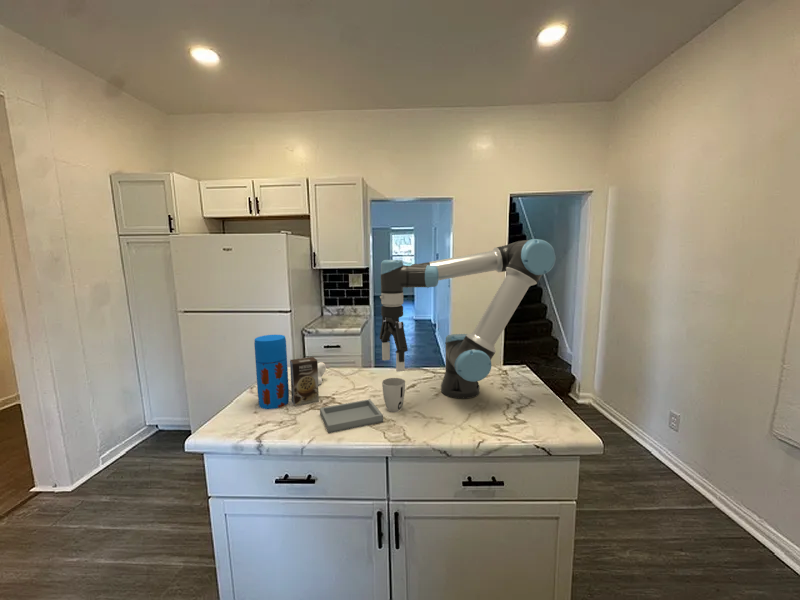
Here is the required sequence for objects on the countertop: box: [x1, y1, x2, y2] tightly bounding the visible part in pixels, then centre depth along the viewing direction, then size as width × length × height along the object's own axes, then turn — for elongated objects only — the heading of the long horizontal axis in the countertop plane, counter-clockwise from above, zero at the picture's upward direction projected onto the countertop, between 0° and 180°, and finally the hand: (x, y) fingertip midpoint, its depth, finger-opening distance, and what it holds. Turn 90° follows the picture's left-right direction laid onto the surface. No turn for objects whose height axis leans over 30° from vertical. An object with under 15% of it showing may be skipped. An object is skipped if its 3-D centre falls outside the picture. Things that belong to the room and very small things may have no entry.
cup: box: [381, 377, 406, 413], centre depth 125 cm, size 8×8×10 cm
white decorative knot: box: [317, 361, 327, 386], centre depth 152 cm, size 11×12×9 cm
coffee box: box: [289, 356, 320, 407], centre depth 132 cm, size 9×6×16 cm
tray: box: [319, 398, 384, 434], centre depth 119 cm, size 18×14×2 cm
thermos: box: [254, 334, 290, 410], centre depth 130 cm, size 11×11×25 cm
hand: (392, 365), depth 124 cm, fingers open, 13 cm apart
